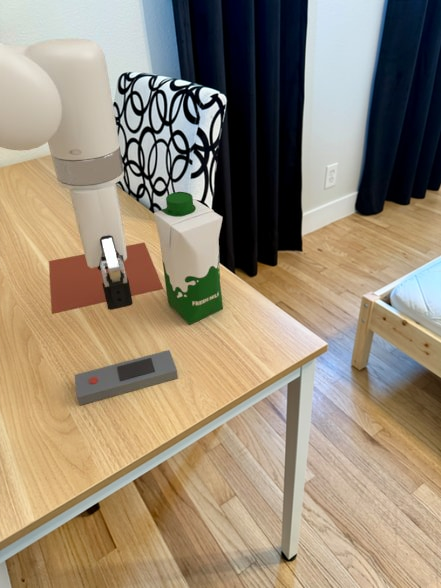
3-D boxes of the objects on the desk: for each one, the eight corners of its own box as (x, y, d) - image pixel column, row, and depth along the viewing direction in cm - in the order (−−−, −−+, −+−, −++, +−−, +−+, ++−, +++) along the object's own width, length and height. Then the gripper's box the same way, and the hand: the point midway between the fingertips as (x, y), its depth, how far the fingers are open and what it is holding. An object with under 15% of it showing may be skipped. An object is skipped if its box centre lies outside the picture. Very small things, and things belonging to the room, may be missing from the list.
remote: (79, 406, 59) (76, 396, 58) (77, 382, 62) (74, 373, 61) (178, 378, 63) (176, 369, 61) (170, 357, 66) (169, 348, 65)
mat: (52, 314, 75) (51, 313, 75) (49, 261, 89) (49, 261, 89) (163, 289, 80) (163, 288, 80) (144, 242, 94) (144, 242, 93)
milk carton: (201, 285, 80) (195, 184, 68) (230, 310, 74) (229, 204, 62) (161, 303, 76) (146, 199, 64) (188, 331, 70) (177, 222, 58)
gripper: (51, 146, 55) (80, 259, 65) (59, 201, 42) (94, 331, 52) (110, 138, 56) (130, 250, 67) (136, 188, 43) (155, 317, 54)
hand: (114, 285), depth 59 cm, fingers open, 9 cm apart
